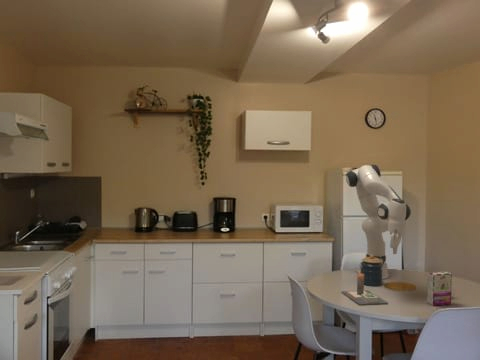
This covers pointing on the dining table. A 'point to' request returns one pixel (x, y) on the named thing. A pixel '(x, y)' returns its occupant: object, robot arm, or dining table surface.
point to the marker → (360, 284)
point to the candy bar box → (439, 288)
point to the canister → (371, 271)
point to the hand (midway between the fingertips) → (394, 253)
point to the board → (364, 298)
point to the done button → (369, 294)
